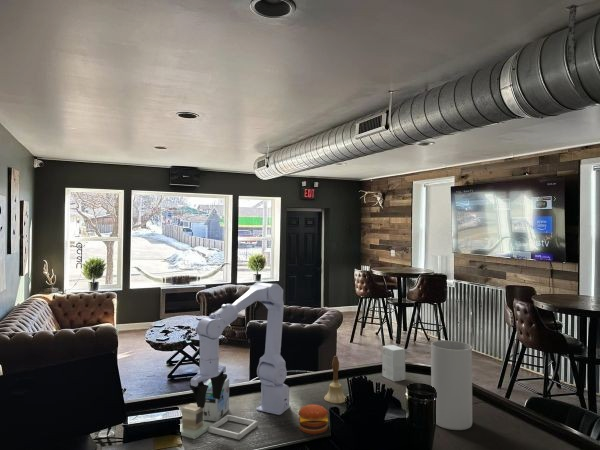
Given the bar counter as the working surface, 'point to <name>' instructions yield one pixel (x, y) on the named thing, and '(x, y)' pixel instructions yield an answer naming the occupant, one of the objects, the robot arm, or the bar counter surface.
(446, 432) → the bar counter surface
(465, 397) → the cylinder vase
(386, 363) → the small box
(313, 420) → the hamburger
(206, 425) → the board
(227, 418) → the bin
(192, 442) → the bar counter surface
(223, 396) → the light bulb box
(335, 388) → the hand bell
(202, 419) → the ash block
